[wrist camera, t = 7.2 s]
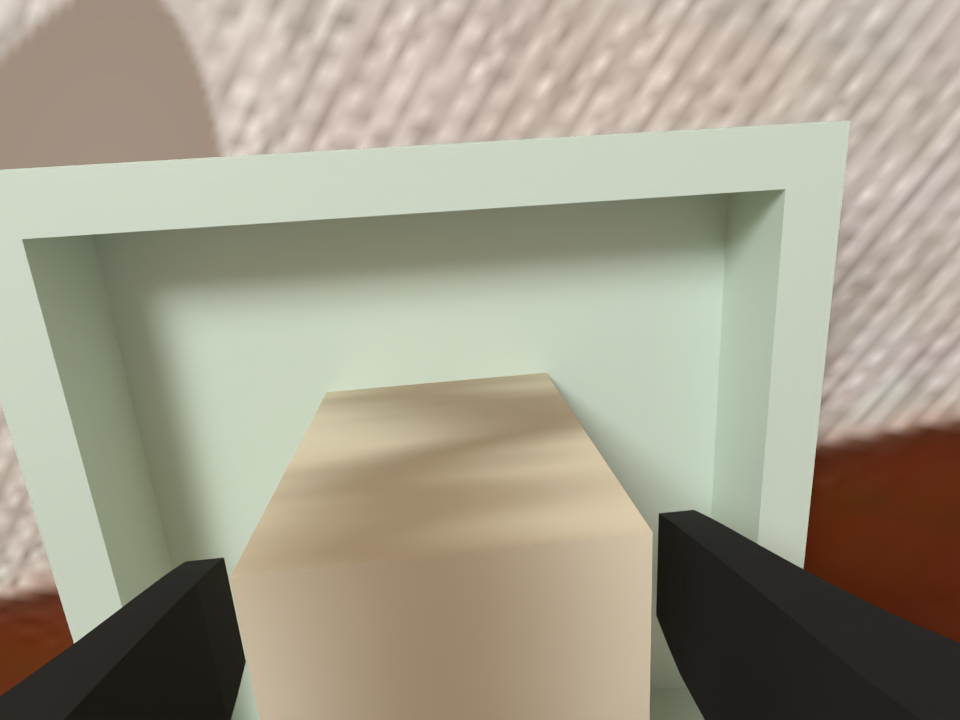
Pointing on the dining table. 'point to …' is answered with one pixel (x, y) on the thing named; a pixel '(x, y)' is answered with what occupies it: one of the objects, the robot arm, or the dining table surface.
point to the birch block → (448, 564)
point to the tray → (413, 329)
